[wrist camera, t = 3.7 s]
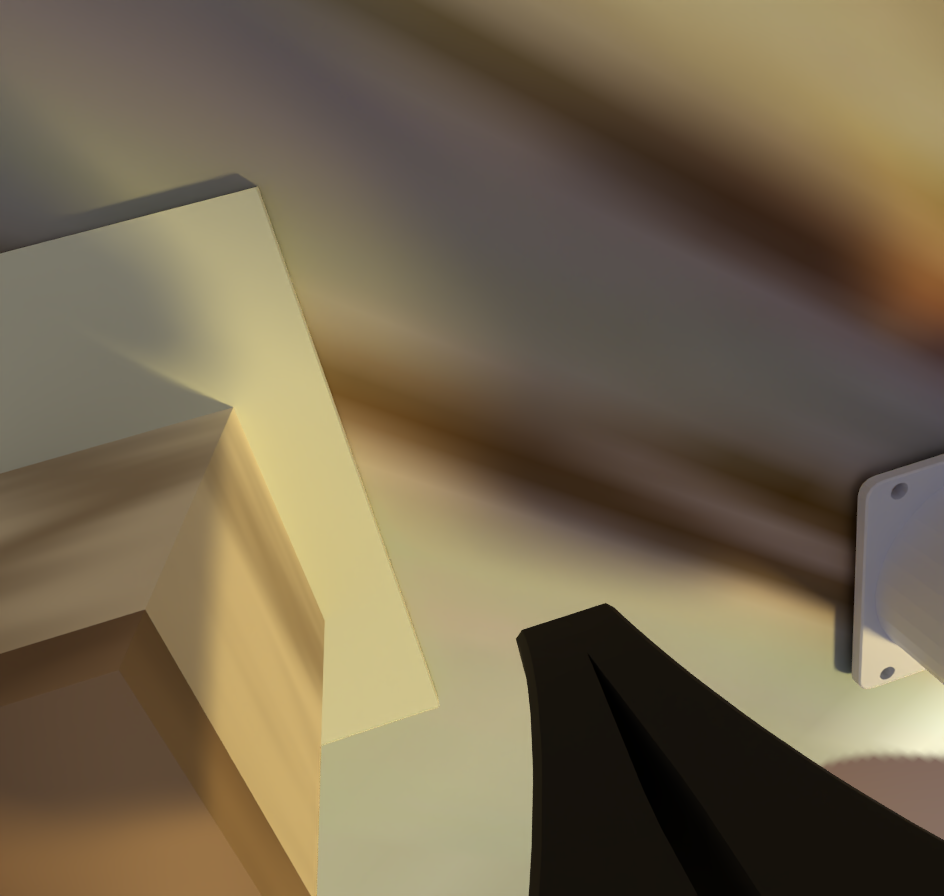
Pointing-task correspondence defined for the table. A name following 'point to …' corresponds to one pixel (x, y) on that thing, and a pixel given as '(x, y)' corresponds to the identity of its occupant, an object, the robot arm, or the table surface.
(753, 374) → the table surface
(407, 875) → the table surface
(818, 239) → the table surface
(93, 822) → the birch block
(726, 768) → the robot arm
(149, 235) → the mat
